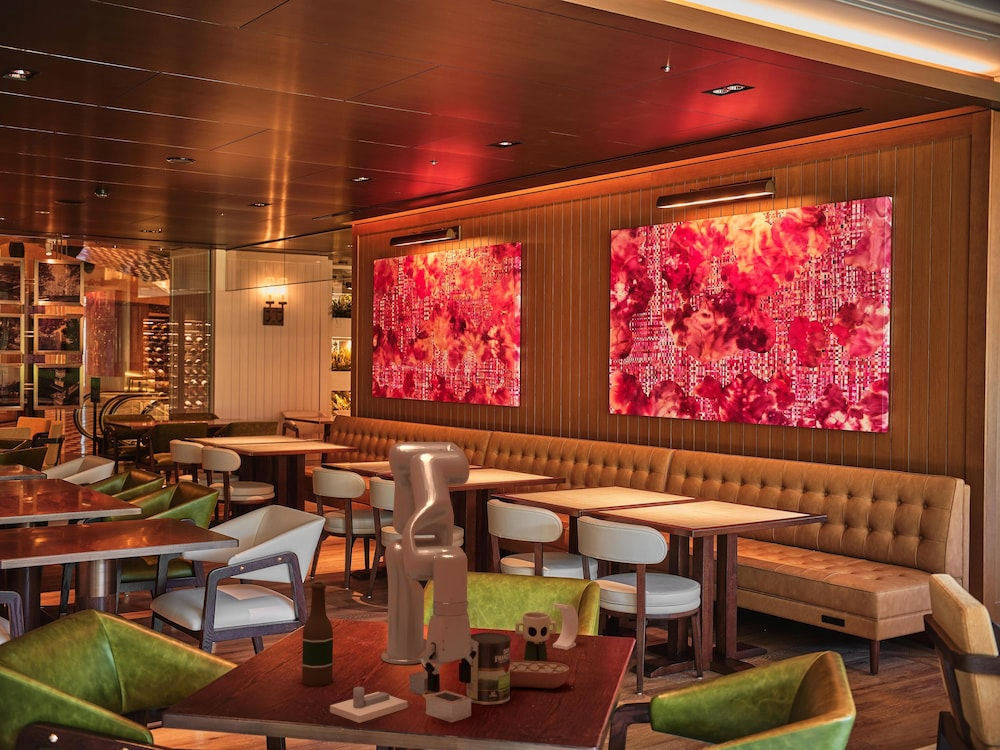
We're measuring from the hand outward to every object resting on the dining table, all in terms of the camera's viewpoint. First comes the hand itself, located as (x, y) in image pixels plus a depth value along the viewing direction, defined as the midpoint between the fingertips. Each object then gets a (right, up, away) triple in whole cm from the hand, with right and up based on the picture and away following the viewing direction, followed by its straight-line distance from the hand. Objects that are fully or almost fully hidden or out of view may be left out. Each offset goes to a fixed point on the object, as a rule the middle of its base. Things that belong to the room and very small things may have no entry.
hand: (449, 686), depth 226 cm
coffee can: (+8, -7, +13) cm, 17 cm away
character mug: (+20, -7, +41) cm, 47 cm away
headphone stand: (+29, -7, +60) cm, 67 cm away
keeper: (-18, -6, +3) cm, 19 cm away
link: (0, -6, +1) cm, 6 cm away
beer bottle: (-33, -6, +24) cm, 41 cm away
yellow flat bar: (-4, -6, +10) cm, 12 cm away
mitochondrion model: (+16, -7, +23) cm, 29 cm away
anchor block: (-7, -6, +17) cm, 20 cm away
